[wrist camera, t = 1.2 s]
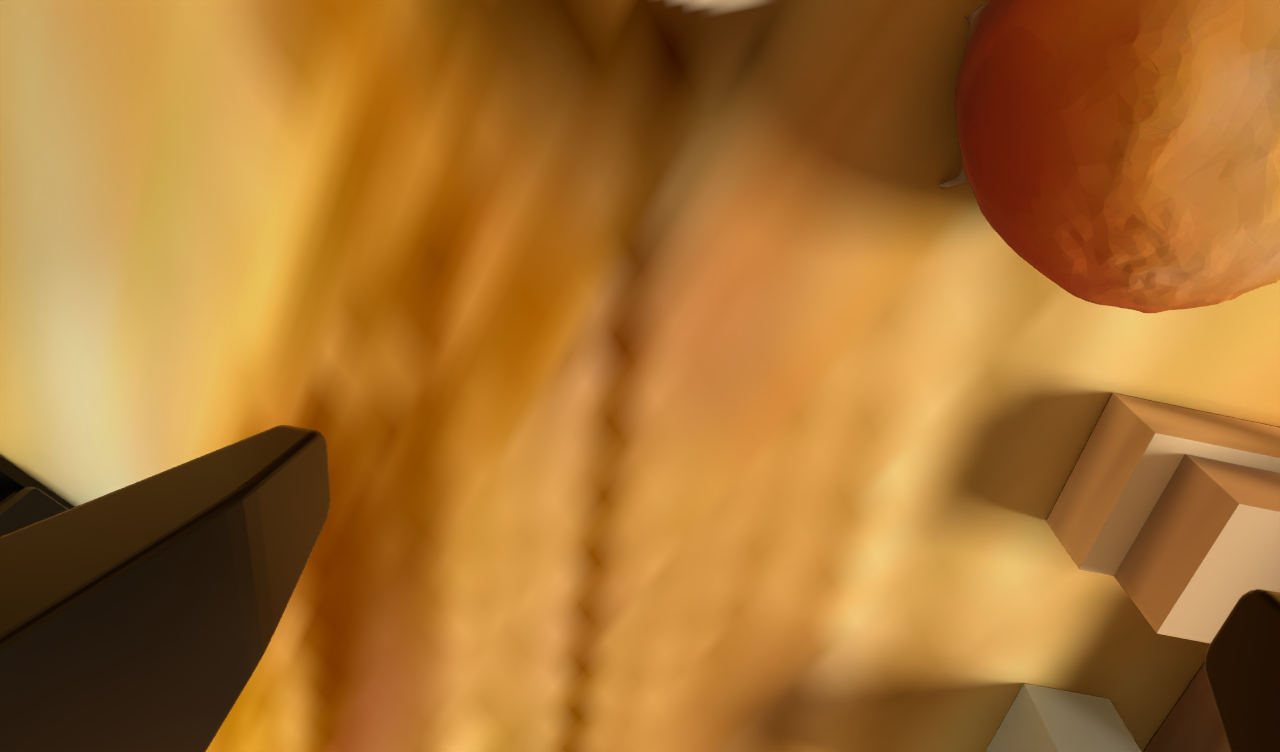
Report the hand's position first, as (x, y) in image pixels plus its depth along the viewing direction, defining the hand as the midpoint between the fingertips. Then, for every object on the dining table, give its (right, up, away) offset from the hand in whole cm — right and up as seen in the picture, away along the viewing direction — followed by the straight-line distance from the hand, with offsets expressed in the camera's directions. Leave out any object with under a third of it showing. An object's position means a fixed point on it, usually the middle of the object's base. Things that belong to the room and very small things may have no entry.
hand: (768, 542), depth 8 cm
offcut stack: (+15, -1, +16) cm, 22 cm away
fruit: (+9, +9, +11) cm, 17 cm away
